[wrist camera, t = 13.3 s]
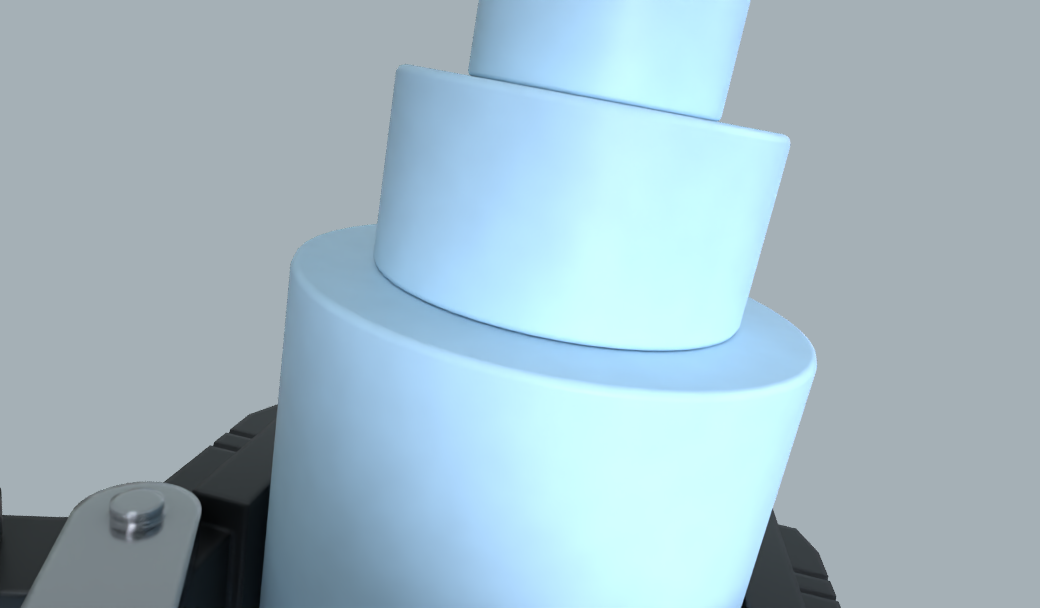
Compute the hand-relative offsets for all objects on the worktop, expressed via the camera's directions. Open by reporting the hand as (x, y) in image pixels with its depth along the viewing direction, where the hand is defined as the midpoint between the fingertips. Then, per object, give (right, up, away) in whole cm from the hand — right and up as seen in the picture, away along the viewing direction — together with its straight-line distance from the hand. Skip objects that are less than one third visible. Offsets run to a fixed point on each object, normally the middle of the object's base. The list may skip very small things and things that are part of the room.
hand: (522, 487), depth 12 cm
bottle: (-2, -10, 0) cm, 10 cm away
